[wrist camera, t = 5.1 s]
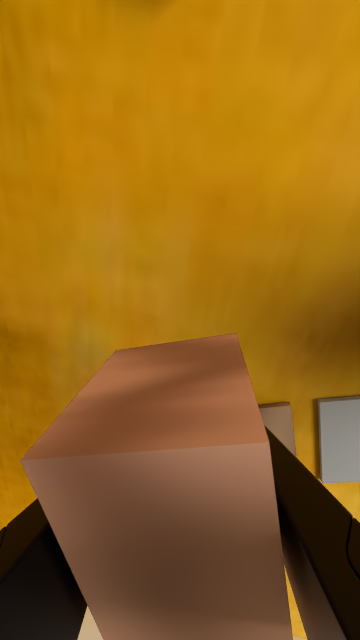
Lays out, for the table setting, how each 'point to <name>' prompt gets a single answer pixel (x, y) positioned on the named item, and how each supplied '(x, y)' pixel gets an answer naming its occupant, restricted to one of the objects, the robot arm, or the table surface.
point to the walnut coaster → (279, 422)
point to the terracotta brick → (168, 496)
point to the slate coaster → (339, 439)
